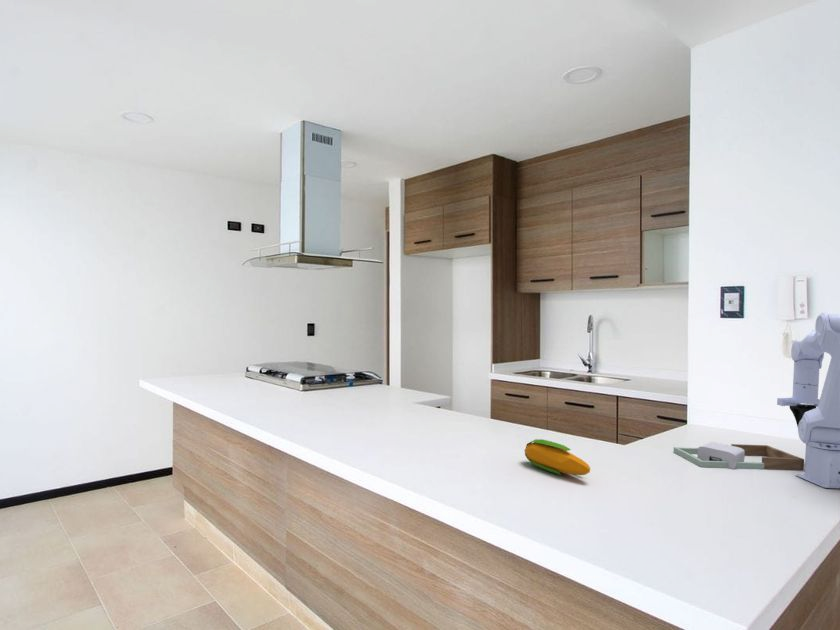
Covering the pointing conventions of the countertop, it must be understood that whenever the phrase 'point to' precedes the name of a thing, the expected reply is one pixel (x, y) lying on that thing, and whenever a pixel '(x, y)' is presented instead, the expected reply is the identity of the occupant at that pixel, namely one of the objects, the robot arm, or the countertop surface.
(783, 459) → the brown wooden u-shaped frame
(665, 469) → the countertop surface
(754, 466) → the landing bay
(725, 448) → the charger
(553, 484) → the countertop surface
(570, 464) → the corn
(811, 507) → the countertop surface
